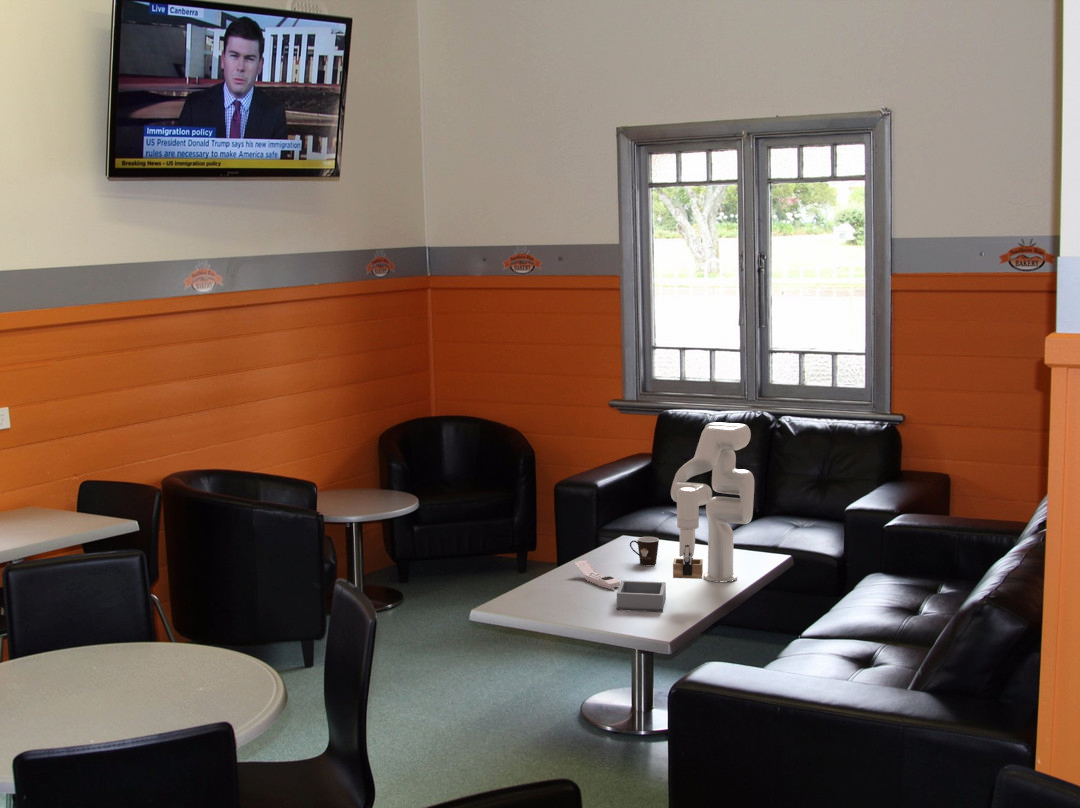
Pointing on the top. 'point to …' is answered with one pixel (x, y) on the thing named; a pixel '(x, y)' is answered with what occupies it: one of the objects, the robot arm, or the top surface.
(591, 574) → the mobile phone
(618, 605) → the grey open box
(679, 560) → the box
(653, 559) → the coffee mug
